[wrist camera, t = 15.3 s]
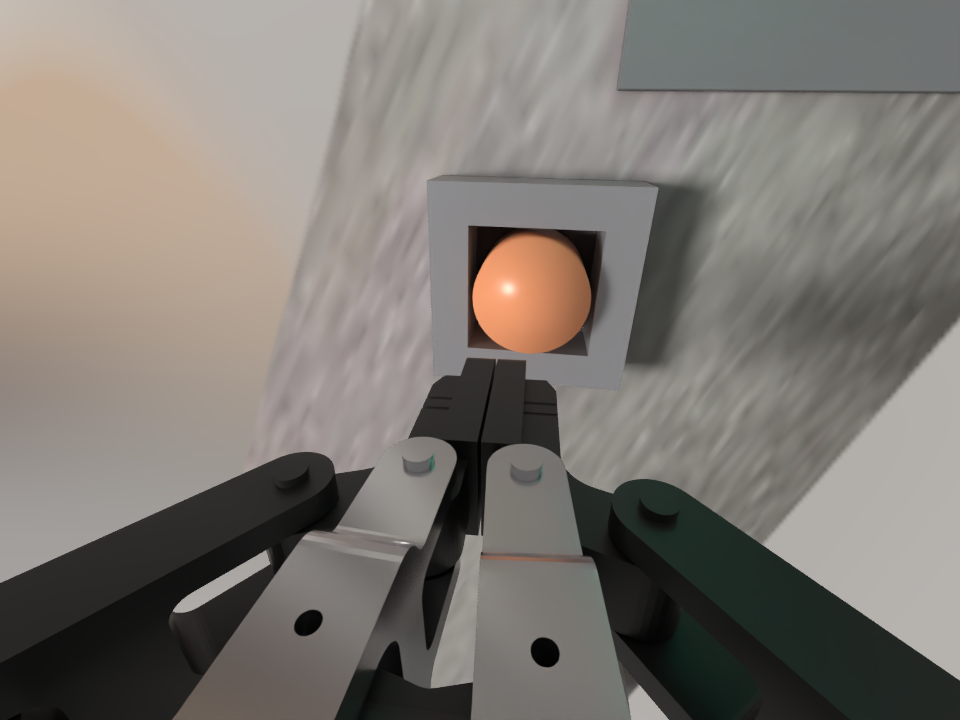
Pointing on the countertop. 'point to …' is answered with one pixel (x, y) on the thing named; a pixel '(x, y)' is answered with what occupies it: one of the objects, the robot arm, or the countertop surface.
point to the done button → (532, 291)
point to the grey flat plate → (792, 46)
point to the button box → (545, 205)
